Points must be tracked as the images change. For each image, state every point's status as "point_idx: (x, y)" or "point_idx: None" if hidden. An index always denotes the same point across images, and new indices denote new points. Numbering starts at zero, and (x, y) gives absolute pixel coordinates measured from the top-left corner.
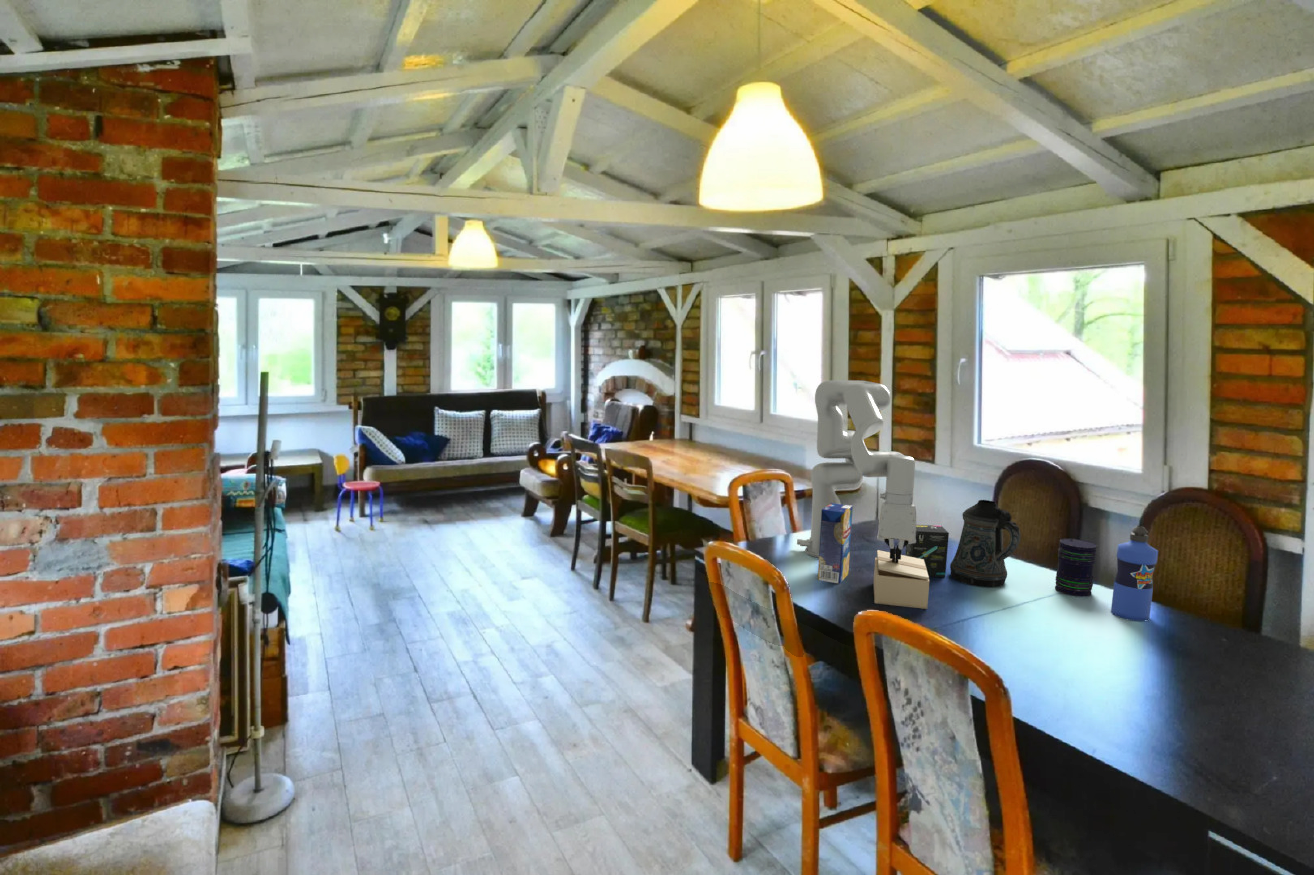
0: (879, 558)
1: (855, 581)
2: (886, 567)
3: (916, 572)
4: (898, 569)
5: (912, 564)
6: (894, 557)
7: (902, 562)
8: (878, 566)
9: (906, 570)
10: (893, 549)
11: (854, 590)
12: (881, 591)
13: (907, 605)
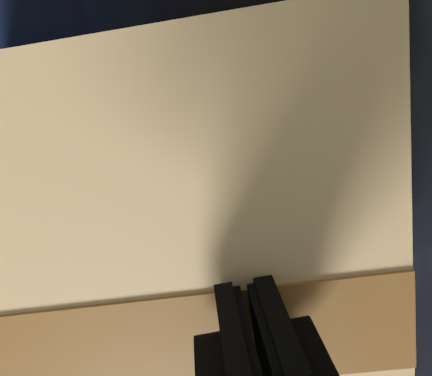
0: (402, 312)
1: (418, 326)
2: (317, 53)
3: (7, 150)
4: (185, 95)
5: (93, 367)
6: (262, 306)
7: (181, 357)
8: (404, 59)
9: (106, 133)
10: (307, 372)
11: (420, 188)
12: None
13: None
